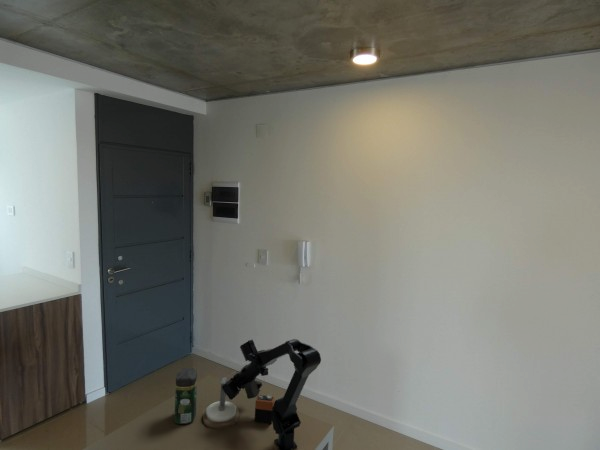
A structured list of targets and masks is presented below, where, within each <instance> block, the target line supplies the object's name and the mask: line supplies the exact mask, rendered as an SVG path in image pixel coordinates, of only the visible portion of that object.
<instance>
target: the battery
mask: <svg viewBox="0 0 600 450" xmlns="http://www.w3.org/2000/svg"><path fill="white" fill-rule="evenodd" d="M274 402H275V396H273V395H271V394H268V395H266V394H265V395H263V394H258V395H257V396H256V398H255V406H254V423H260V424H267V425H272V424H273V423H272V410H273V409H272V407H273V406H274Z"/></svg>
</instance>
